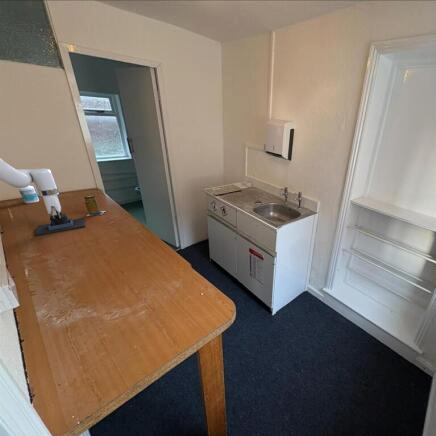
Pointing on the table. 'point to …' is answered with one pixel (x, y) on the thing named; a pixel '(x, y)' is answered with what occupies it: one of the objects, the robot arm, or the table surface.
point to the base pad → (60, 227)
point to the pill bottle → (29, 194)
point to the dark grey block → (64, 217)
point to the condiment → (92, 206)
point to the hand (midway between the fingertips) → (60, 222)
